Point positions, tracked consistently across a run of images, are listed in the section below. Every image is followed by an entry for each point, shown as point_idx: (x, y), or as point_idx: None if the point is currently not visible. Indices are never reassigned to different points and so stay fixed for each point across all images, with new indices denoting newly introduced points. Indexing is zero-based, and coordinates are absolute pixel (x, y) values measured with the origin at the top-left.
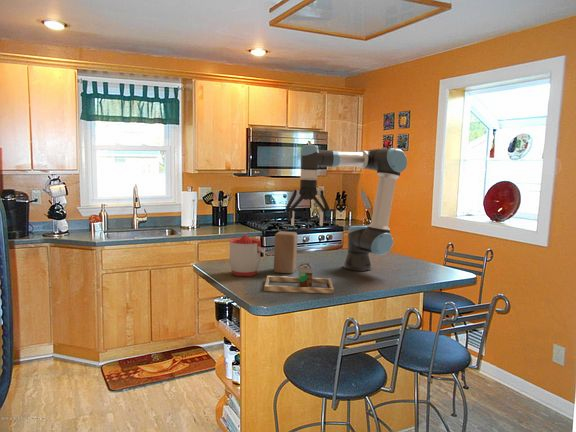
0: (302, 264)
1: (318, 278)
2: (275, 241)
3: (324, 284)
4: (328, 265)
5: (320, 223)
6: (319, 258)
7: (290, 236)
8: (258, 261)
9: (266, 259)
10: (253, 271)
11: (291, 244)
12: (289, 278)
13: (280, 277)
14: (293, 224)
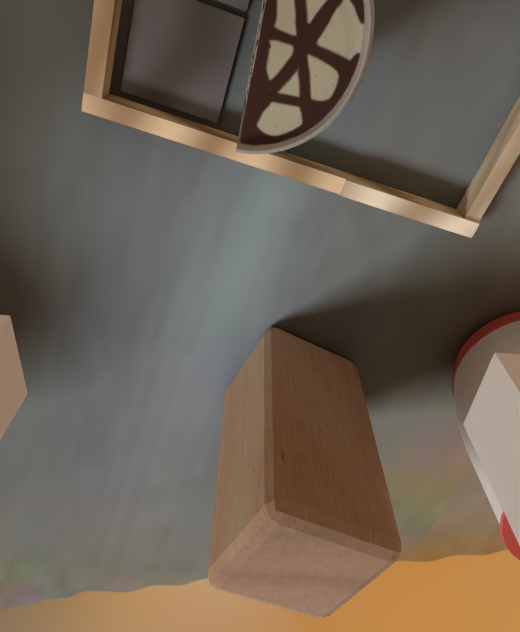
0: (297, 137)
1: (166, 129)
2: (388, 502)
3: (144, 52)
4: (33, 436)
5: (3, 376)
6: (57, 533)
7: (297, 506)
8: None
9: None
10: (507, 324)
11: (286, 451)
12: (350, 178)
13: (403, 198)
14: (512, 365)
